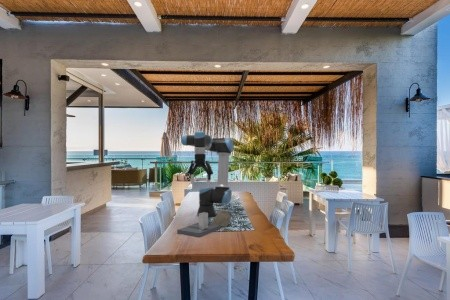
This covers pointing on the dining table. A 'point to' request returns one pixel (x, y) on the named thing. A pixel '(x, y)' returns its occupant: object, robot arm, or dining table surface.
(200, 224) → the fader
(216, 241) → the dining table surface
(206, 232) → the console
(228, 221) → the fossil tooth
